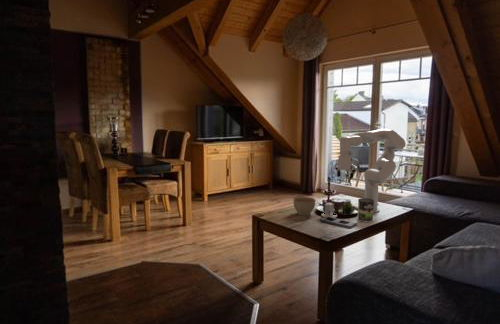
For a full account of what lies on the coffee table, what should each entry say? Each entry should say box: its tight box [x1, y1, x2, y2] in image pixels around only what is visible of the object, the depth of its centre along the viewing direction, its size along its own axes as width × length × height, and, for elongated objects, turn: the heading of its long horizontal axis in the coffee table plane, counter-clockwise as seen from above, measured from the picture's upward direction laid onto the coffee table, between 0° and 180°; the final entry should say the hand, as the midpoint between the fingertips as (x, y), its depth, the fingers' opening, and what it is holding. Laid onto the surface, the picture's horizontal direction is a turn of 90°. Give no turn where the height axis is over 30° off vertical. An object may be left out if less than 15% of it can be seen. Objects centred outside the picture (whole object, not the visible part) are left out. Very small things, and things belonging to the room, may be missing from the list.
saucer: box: [320, 212, 338, 218], centre depth 260 cm, size 11×11×1 cm
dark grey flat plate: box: [320, 216, 358, 229], centre depth 244 cm, size 9×22×2 cm, turn 47°
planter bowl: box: [292, 196, 316, 217], centre depth 264 cm, size 16×16×11 cm
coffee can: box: [357, 198, 374, 223], centre depth 250 cm, size 10×10×14 cm
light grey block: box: [324, 202, 335, 216], centre depth 259 cm, size 4×4×8 cm
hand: (345, 177), depth 259 cm, fingers open, 9 cm apart
